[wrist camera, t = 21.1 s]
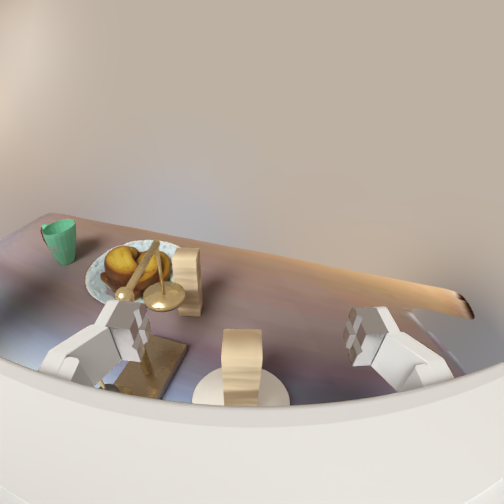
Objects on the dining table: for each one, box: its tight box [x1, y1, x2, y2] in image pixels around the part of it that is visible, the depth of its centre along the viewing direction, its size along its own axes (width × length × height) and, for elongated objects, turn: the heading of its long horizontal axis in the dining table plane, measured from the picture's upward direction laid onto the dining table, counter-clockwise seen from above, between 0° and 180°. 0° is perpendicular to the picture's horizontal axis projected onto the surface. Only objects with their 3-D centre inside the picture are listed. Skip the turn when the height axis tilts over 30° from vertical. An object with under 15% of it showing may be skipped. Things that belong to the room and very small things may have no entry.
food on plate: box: [84, 240, 181, 306], centre depth 59 cm, size 26×25×7 cm
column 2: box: [221, 329, 263, 406], centre depth 31 cm, size 4×4×12 cm
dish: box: [192, 368, 290, 406], centre depth 34 cm, size 13×13×2 cm
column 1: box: [172, 248, 203, 317], centre depth 49 cm, size 4×4×12 cm
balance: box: [99, 239, 187, 400], centre depth 33 cm, size 24×7×19 cm, turn 167°
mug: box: [41, 219, 76, 265], centre depth 62 cm, size 15×10×10 cm
